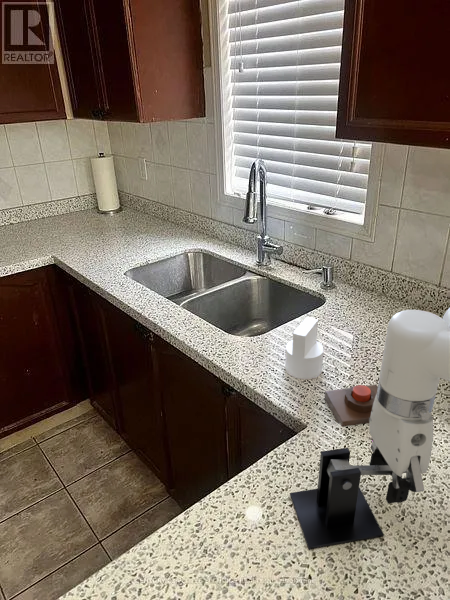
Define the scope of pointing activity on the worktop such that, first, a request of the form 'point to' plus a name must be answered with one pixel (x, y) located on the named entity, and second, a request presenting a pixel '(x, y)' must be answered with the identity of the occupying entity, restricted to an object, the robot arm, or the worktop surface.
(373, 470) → the lever
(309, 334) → the base with upright slab
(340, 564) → the worktop surface
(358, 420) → the control block
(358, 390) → the button
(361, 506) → the black lever stand
